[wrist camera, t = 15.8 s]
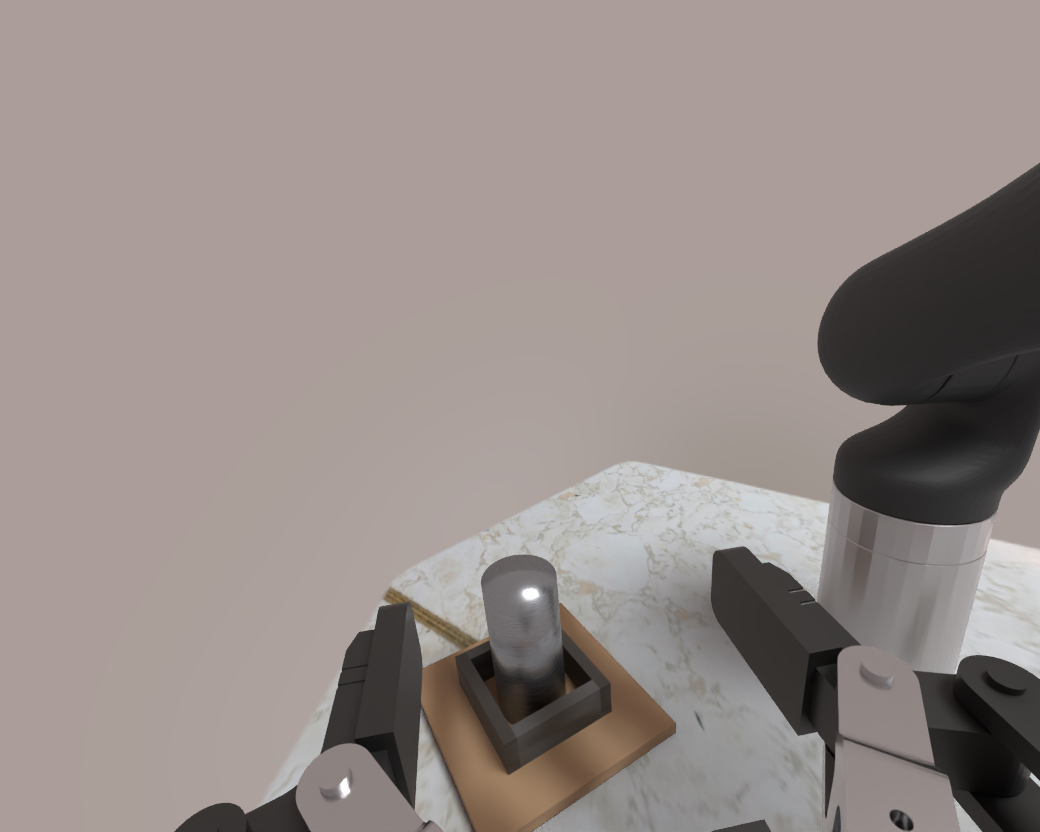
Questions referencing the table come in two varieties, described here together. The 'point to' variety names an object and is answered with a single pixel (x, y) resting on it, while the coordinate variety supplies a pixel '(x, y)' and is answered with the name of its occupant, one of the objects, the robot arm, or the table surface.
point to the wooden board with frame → (537, 732)
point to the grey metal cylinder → (524, 634)
